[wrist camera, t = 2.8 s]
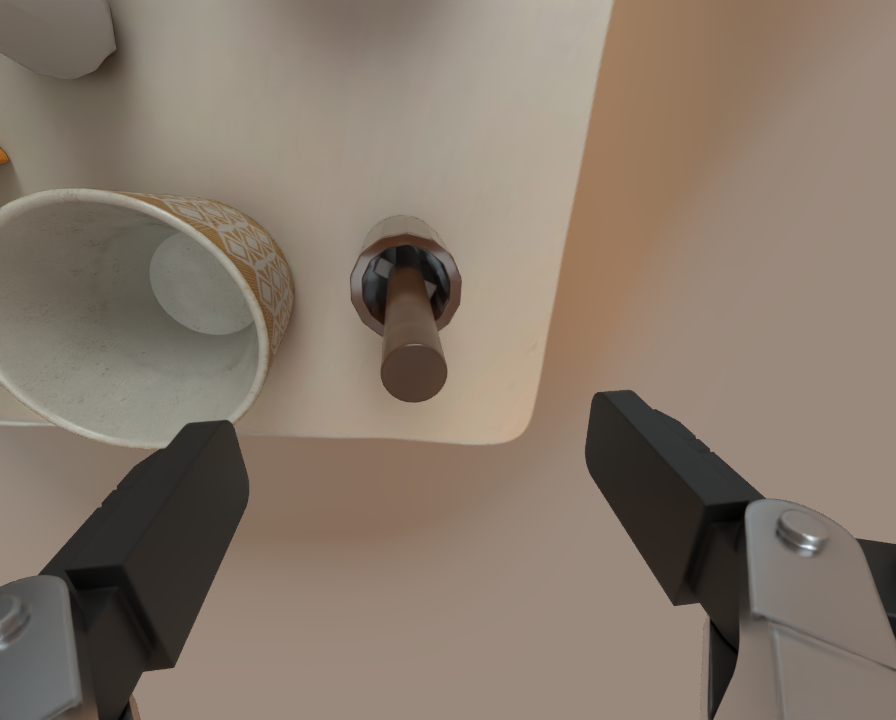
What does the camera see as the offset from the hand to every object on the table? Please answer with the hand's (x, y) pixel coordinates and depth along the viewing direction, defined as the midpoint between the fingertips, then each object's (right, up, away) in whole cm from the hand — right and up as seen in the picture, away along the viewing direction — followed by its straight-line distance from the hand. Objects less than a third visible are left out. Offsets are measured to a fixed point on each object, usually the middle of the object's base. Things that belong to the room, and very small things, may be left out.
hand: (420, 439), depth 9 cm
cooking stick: (-2, +9, +19) cm, 21 cm away
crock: (-2, +9, +20) cm, 22 cm away
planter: (-15, +7, +19) cm, 26 cm away
